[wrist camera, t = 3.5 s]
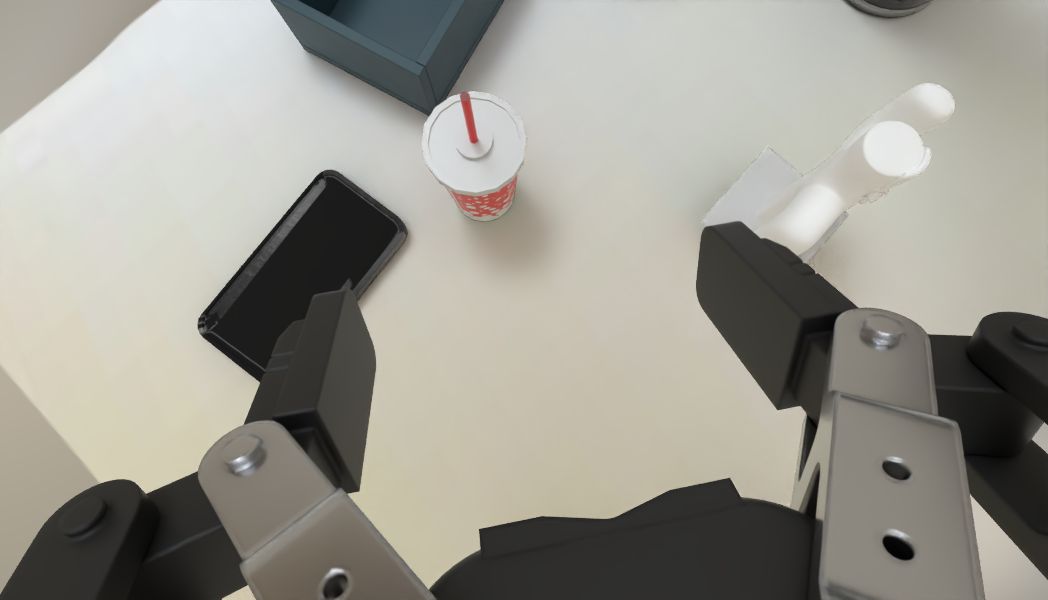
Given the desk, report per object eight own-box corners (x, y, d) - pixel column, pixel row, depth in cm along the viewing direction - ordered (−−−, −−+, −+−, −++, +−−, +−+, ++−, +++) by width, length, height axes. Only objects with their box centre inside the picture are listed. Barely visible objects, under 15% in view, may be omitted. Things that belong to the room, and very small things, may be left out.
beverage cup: (541, 189, 38) (555, 92, 24) (486, 248, 37) (468, 184, 24) (481, 136, 38) (461, 12, 24) (426, 194, 38) (373, 100, 24)
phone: (190, 327, 35) (326, 163, 37) (200, 328, 36) (332, 169, 38) (276, 395, 35) (411, 226, 36) (284, 394, 36) (414, 230, 37)
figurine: (673, 244, 38) (775, 169, 23) (753, 155, 38) (901, 28, 24) (747, 309, 37) (901, 277, 22) (826, 217, 38) (1025, 128, 23)
